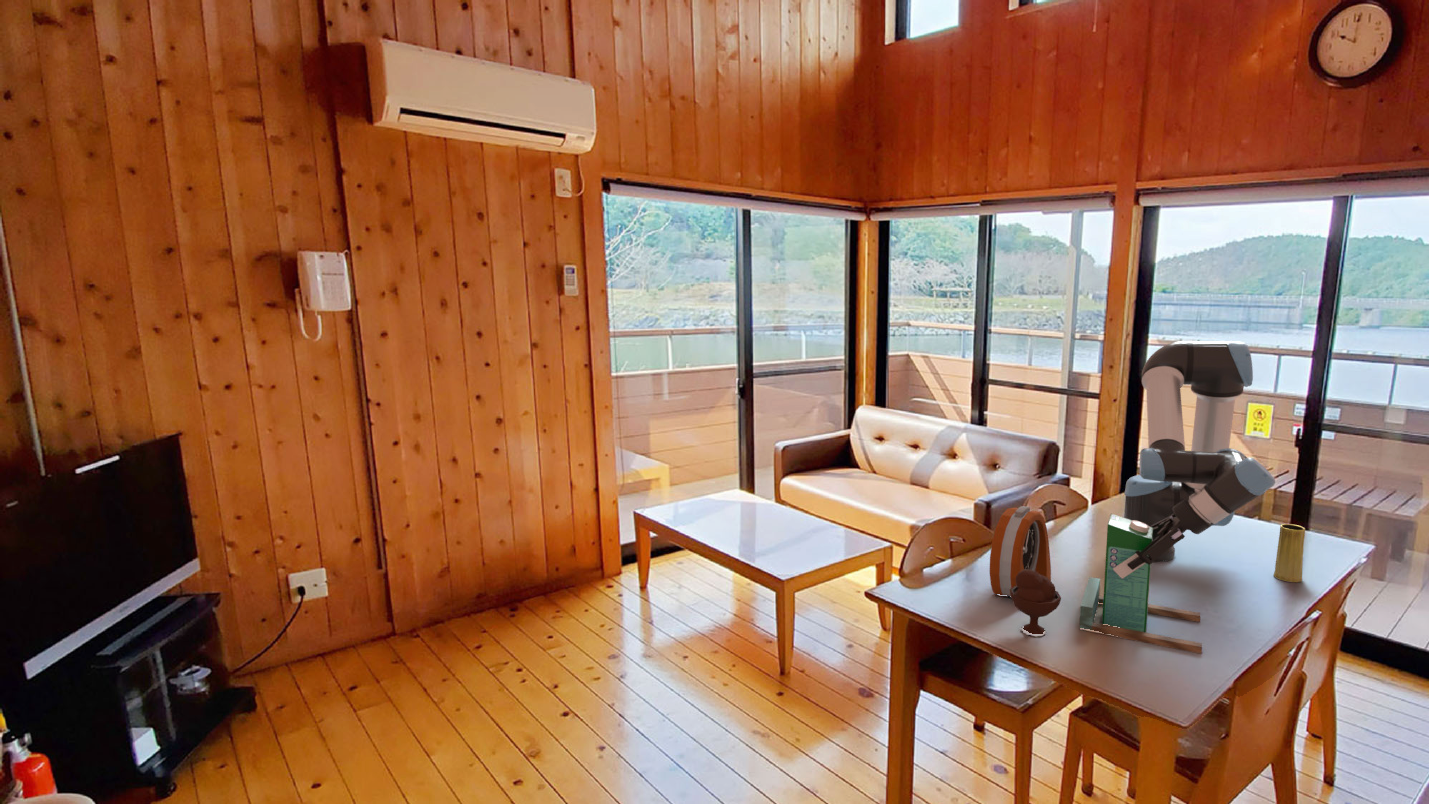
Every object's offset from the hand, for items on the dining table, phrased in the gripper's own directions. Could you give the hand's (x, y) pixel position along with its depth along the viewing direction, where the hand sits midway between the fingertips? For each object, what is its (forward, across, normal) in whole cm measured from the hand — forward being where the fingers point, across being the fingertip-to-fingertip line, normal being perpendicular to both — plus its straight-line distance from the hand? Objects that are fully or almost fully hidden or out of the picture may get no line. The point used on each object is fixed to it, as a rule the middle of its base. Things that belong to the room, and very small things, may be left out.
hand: (1119, 563), depth 175 cm
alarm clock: (+26, -8, -6) cm, 28 cm away
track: (+7, 0, +13) cm, 15 cm away
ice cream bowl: (+22, +16, -1) cm, 27 cm away
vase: (-16, -48, +36) cm, 62 cm away
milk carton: (+9, 0, +11) cm, 14 cm away
